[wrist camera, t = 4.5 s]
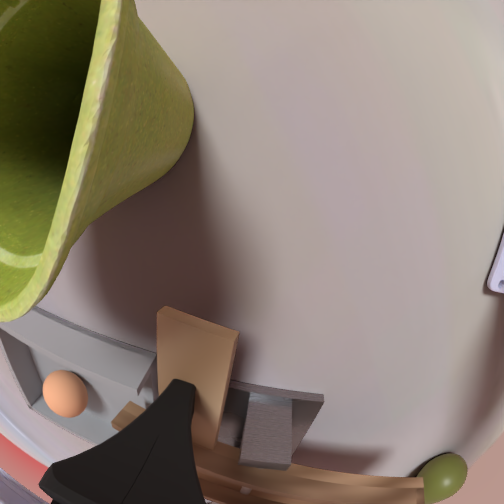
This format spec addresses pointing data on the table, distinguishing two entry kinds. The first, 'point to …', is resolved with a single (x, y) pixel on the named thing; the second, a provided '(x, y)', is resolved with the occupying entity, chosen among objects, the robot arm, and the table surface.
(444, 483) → the pear
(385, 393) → the table surface
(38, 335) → the tray
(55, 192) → the plant pot
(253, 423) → the fulcrum
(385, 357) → the table surface
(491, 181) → the table surface
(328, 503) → the plank
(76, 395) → the ball
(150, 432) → the robot arm
